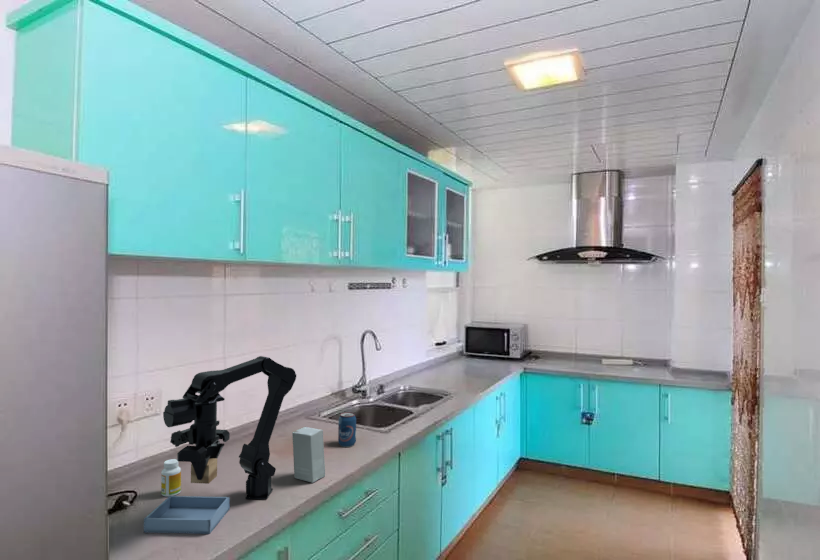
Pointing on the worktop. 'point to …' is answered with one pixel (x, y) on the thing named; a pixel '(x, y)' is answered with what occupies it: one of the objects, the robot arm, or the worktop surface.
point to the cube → (206, 472)
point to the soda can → (347, 429)
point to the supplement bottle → (171, 478)
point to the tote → (187, 515)
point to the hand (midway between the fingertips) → (204, 475)
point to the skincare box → (308, 454)
